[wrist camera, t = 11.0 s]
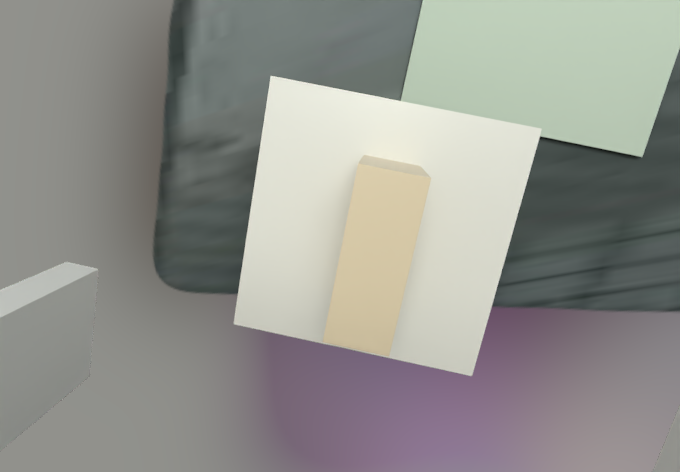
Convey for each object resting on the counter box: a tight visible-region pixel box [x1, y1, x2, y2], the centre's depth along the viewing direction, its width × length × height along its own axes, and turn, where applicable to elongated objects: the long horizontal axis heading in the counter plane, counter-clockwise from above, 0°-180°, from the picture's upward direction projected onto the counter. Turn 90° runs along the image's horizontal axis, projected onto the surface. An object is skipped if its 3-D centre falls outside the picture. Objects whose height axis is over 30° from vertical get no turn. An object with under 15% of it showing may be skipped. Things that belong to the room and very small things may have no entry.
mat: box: [401, 0, 680, 157], centre depth 30 cm, size 16×16×1 cm
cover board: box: [234, 76, 542, 376], centre depth 24 cm, size 14×14×7 cm
